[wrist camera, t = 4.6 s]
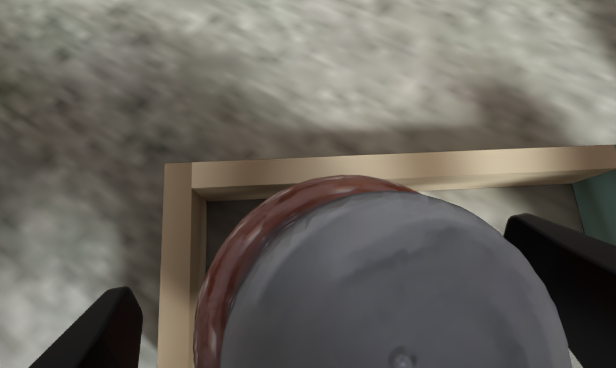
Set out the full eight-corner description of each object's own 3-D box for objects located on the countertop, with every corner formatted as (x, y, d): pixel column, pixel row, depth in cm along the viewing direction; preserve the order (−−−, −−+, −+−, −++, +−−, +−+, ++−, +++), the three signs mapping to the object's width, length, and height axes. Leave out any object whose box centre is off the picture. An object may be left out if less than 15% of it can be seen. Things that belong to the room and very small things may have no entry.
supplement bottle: (214, 285, 15) (-7, 323, 4) (323, 197, 16) (407, 22, 5) (306, 408, 14) (385, 968, 3) (414, 304, 15) (776, 394, 4)
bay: (179, 371, 14) (156, 392, 11) (183, 180, 16) (164, 163, 13) (632, 333, 15) (698, 345, 13) (586, 162, 17) (636, 143, 14)
